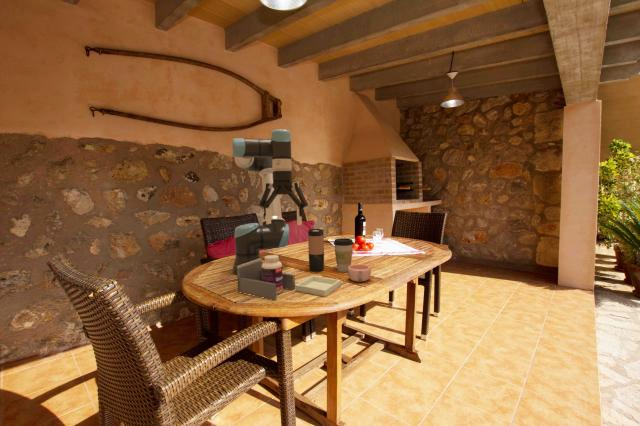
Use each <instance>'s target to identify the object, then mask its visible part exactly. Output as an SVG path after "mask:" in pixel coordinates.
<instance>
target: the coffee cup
mask: <svg viewBox="0 0 640 426" xmlns="http://www.w3.org/2000/svg"><path fill="white" fill-rule="evenodd" d="M333 245H334V254H335V260H336V261H335V262H336V265H337V267H336V270H337V271H338V272H340V273H342V272H346V273H348V267H349V266H350V265H352V259H353V258H352V257H353V245H354V242H353V239H351V238H345V237H343V238H342V237H341V238H335V239H334V241H333Z"/></svg>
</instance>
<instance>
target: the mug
mask: <svg viewBox="0 0 640 426" xmlns="http://www.w3.org/2000/svg"><path fill="white" fill-rule="evenodd" d="M371 274H372V273H371V267H370V266H369V265H368V264H362V263H355V264H351V265H350V266H349V267H348V271H347V275H348V277H349V279H350V280H352V281H353V282H358V283H359V282H366V281H368V280H369V279H370V276H371Z"/></svg>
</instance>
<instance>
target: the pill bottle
mask: <svg viewBox="0 0 640 426" xmlns="http://www.w3.org/2000/svg"><path fill="white" fill-rule="evenodd" d="M262 263H263V264H262V281H264V282H269V283H275V284H276V295H279V294H281V293H282V292H283V291H284V288H283V276H282V273H283V263H282V262H281V261H280V257H279V255H276V254H270V255H265V256H264V262H262Z"/></svg>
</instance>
